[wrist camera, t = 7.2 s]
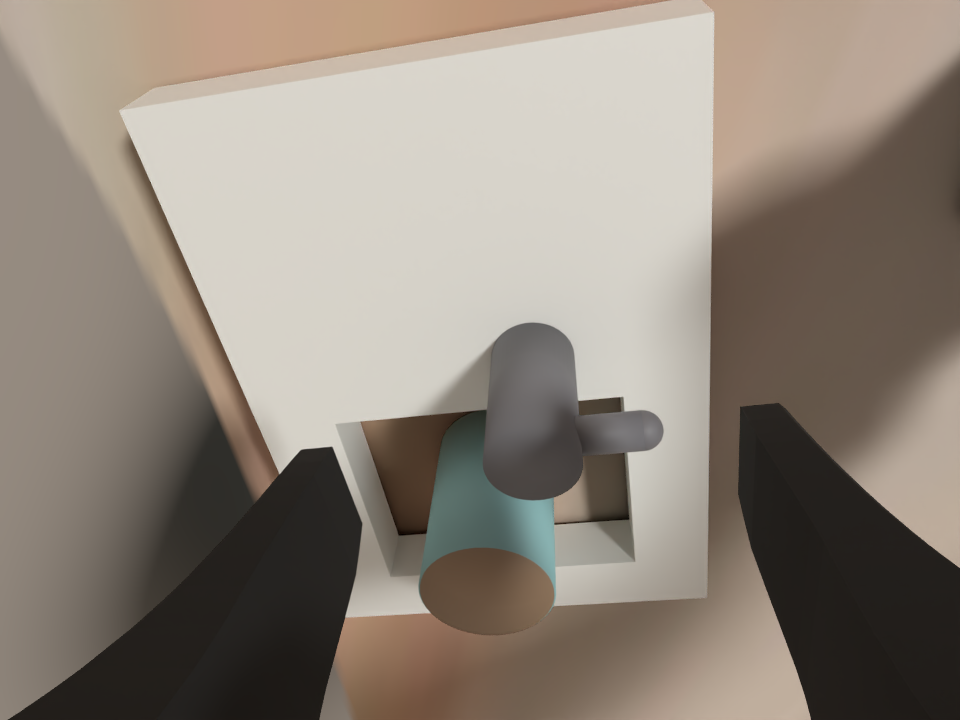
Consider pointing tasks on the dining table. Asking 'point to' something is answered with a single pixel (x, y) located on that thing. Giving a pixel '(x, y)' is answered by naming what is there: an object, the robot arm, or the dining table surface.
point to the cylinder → (484, 544)
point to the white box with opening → (470, 269)
